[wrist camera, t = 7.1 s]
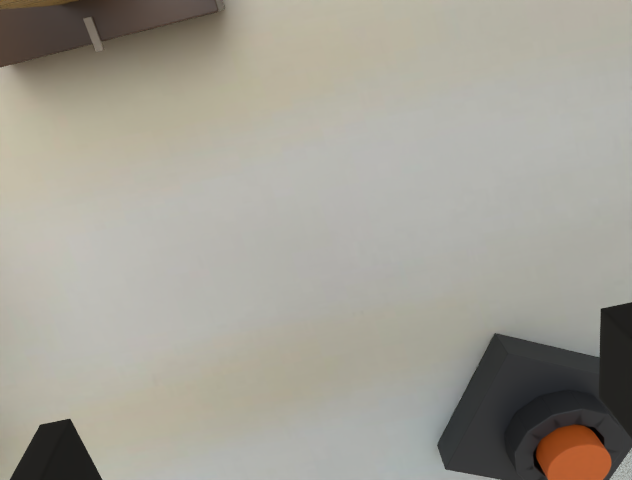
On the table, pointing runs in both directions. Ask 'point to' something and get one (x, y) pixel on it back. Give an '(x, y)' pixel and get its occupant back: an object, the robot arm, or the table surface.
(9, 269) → the table surface
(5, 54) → the plate
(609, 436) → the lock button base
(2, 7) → the lock knob
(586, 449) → the button
